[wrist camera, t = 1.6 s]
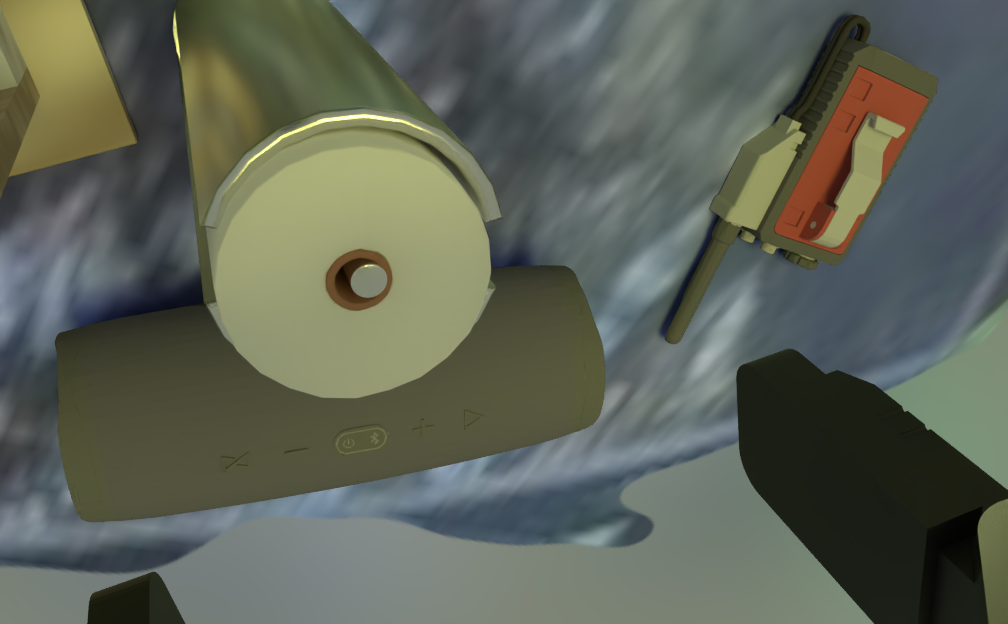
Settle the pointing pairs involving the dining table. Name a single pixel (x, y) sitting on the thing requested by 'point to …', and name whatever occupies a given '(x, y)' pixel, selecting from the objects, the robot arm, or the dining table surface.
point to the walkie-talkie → (818, 162)
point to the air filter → (326, 200)
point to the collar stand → (55, 88)
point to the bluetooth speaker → (311, 406)
